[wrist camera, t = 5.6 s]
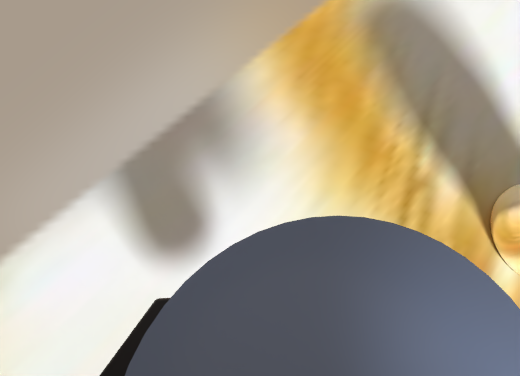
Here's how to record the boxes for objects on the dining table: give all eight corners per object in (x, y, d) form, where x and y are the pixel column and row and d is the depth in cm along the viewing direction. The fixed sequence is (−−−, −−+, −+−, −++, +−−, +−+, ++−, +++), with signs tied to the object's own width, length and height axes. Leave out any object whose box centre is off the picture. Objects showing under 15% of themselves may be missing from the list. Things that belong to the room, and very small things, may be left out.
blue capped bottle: (327, 337, 15) (653, 390, 4) (260, 443, 14) (460, 974, 3) (235, 268, 16) (294, 137, 4) (163, 366, 14) (-21, 543, 3)
